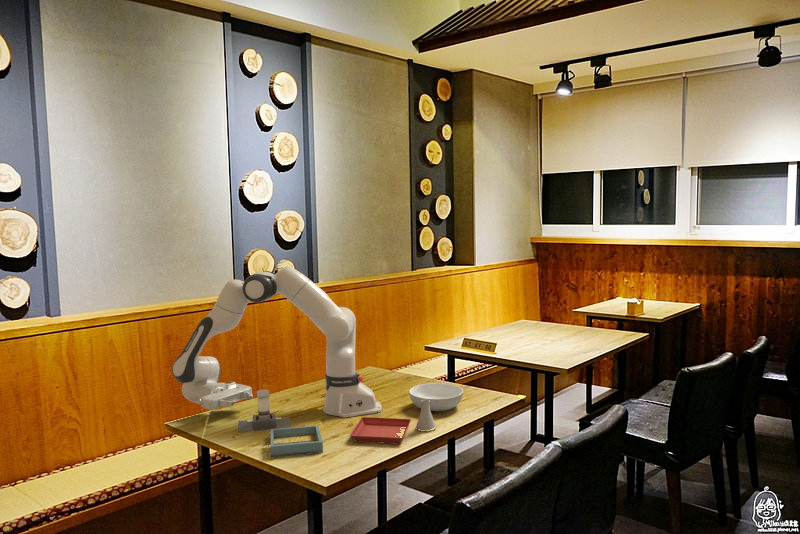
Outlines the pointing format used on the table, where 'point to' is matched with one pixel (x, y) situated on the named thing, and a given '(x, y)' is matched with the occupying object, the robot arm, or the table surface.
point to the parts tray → (296, 447)
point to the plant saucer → (379, 429)
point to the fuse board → (264, 423)
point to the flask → (425, 417)
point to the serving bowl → (437, 395)
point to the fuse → (263, 404)
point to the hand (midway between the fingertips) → (241, 400)
